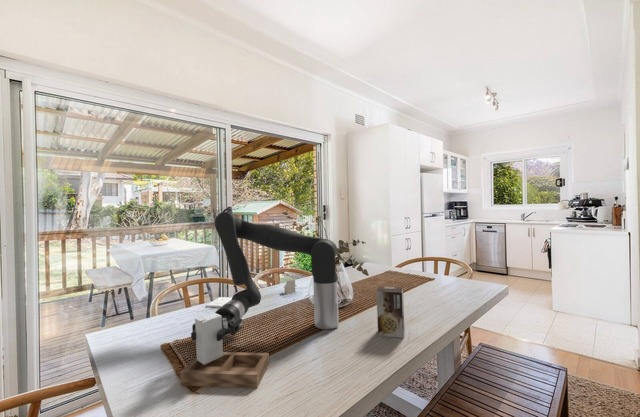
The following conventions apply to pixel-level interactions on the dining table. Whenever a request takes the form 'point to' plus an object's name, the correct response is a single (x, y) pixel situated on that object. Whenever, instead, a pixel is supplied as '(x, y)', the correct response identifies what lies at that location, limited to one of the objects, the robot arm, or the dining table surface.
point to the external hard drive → (219, 302)
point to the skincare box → (208, 338)
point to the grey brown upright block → (390, 312)
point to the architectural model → (289, 286)
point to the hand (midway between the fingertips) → (205, 337)
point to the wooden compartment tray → (227, 371)
